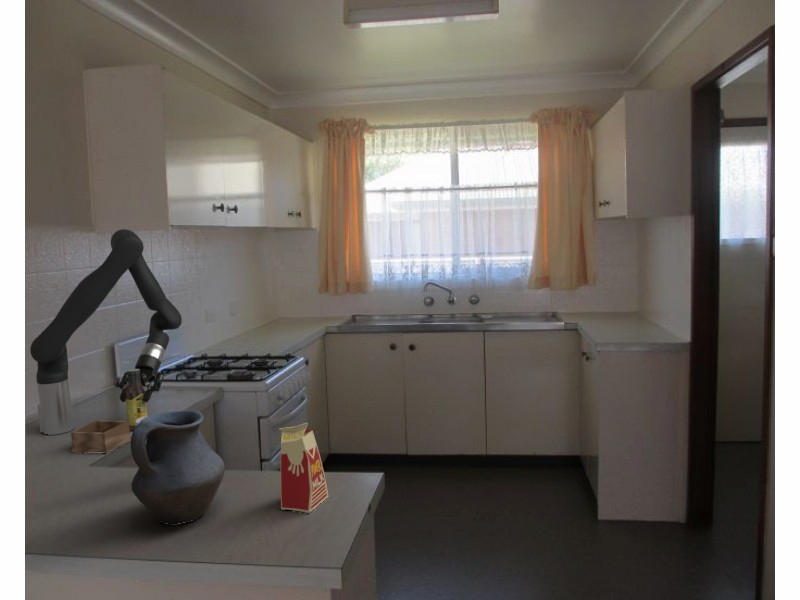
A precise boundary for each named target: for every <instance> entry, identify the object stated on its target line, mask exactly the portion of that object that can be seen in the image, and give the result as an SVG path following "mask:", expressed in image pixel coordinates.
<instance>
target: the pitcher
mask: <svg viewBox="0 0 800 600" xmlns="http://www.w3.org/2000/svg"><path fill="white" fill-rule="evenodd" d="M147 416H148V417H146V418H144V419H142V420H141V421H140V423H139V424H137V426H136V427H135V428H134V430H132V435H131V436H132V437H131V441H130V451H131V452H130V453H131V456H132V459H133V460H134V461H133V462H134V463H135V464H136V466H137V467H138V470H137V471H136V473H135V474H134V476H133V478H132V481H131V491H132V493H133V494H134V496H135V497H136V498H137V499H138V501H139V503H141V504H142V505H143V506H144V507H145V508H146V509H147V511H148V512H149V513H150V514H151V515H152V516H153V518H154V520H156V521H157V522H159V523H161V522H162V524H163V523H168V524H178V523H183V522H188V521H191V520H194V519H196V518H198V517H200V516H201V515H203V514H204V513H205V514H206V512H207V511H208V509H209V507H210V506H211V503H212V502H213V500H214V499H215V496H216V494H217V491H218V489H220V488H219V487H220V486H221V483H222V481H223V480H224V476H225V471H226V467H225V463H224V460H223V459H222V457H221V456H220V455H219V454H217V453H216V452H215V451H214V450H213V448H211V447H210V445H209V444H208V442H207V441H206V438H205V436H204V435H203V434H202V432H201V430H200V425H202V423H203V422H204V415H203V413H202V412H200V411H198V410H191V409H190V410H188V409H187V410H185V409H184V410H173V411H167V412H158V413H153V414H150V415H147ZM146 438H147V439H146ZM145 441H146V445H145ZM205 514H204V515H205ZM204 515H203V516H204ZM201 517H202V516H201ZM201 517H200V518H201ZM198 519H199V518H198ZM196 520H197V519H196ZM168 524H167V525H168Z"/></svg>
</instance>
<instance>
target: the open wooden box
mask: <svg viewBox="0 0 800 600" xmlns="http://www.w3.org/2000/svg"><path fill="white" fill-rule="evenodd" d="M130 431H131V430H130V429H129V421H128V420H102V419H101V420H100V419H99V420H98V419H97V420H95V421H92V422H90V423H87V424H85V425H84V426H81V427H80V428H77V429H75V430H73V431H72V432H71V431H70V436H71V445H72V447H71V448H70V453H71V452H81V453H80V454H89V453H88V452H105V453H107V452H109V451H110V450H112V449H114V448H116V447H118V446H120V445H121V444H124V443H126V442H128V441H130V442H131V437H132V435H131V432H130ZM128 443H129V442H128ZM126 444H127V443H126ZM124 445H125V444H124ZM85 452H87V453H85Z"/></svg>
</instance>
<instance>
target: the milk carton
mask: <svg viewBox="0 0 800 600" xmlns="http://www.w3.org/2000/svg"><path fill="white" fill-rule="evenodd" d="M278 430H280V431H281V439H280V468H279V469H280V509H294V510H295V509H296V510H300V511H306V512H311V511H312V510H313V509H315V508H316V507H317V506H318V505H319V504H320V503H322V502H323V501H324V500H325V499H326V498H328V497H329V492H328V486H327V481H326V476H325V471H324V467H323V463H322V458H321V454H320V450H319V448H318V445H317V441H316V438H315V435H314V431H313V429H310V428H309V427H308V422H304V423H302V424H298V425H296V426H289V427H281V428H280V427H279V428H278ZM329 498H330V497H329ZM329 498H328V499H329ZM325 501H326V500H325ZM325 501H324V502H325ZM324 502H323V503H324ZM323 503H322V504H323ZM315 510H316V509H315Z"/></svg>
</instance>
